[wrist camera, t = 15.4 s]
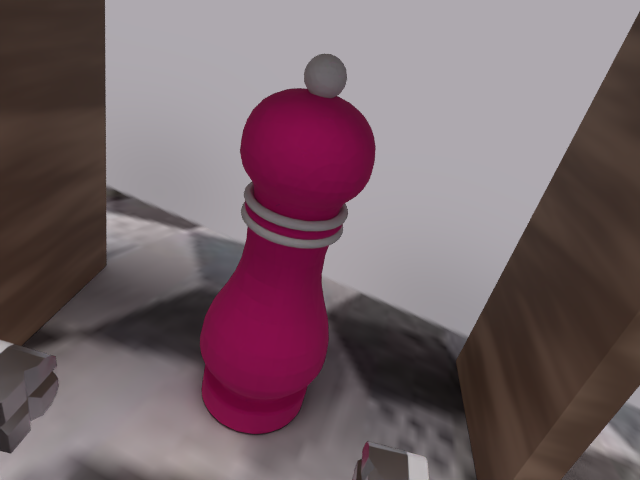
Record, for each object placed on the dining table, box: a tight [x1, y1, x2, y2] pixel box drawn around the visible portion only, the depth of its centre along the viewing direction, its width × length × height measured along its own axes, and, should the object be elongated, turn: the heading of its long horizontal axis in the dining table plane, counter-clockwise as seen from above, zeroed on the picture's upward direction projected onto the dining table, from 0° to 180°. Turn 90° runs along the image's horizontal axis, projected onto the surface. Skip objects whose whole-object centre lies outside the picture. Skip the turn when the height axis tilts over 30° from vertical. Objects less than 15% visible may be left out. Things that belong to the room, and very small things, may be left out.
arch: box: [0, 0, 640, 480], centre depth 23 cm, size 32×12×29 cm, turn 82°
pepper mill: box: [200, 54, 375, 434], centre depth 23 cm, size 7×7×20 cm
